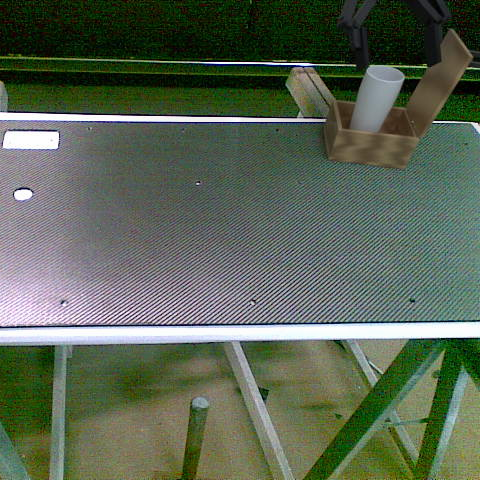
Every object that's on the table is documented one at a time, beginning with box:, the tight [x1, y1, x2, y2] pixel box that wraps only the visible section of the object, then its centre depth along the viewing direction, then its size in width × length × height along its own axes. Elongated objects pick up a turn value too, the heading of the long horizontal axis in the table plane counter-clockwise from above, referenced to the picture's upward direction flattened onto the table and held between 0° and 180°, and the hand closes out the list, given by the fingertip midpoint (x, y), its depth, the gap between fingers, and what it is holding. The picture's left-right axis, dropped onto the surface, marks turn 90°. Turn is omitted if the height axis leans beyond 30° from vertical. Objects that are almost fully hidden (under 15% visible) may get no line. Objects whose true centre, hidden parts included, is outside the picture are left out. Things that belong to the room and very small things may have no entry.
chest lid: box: [405, 28, 480, 139], centre depth 85 cm, size 15×12×10 cm
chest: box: [322, 99, 421, 170], centre depth 94 cm, size 15×12×7 cm
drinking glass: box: [349, 64, 405, 133], centre depth 90 cm, size 7×7×15 cm
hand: (399, 66), depth 82 cm, fingers open, 13 cm apart
